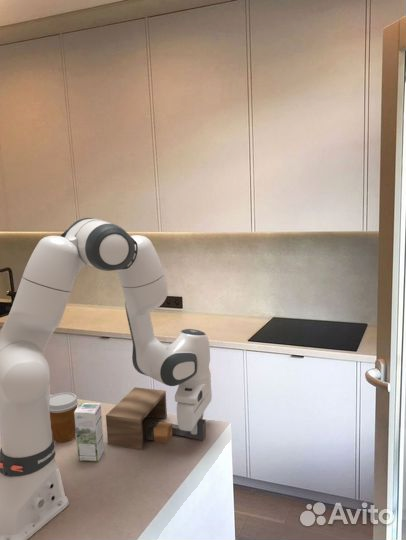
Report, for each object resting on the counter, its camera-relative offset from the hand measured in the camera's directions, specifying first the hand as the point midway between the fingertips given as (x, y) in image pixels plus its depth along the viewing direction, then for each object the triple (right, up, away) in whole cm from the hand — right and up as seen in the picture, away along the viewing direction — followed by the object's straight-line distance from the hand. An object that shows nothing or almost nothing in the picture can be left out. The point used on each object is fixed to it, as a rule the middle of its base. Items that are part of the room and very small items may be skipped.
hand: (196, 429), depth 141 cm
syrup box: (-29, -5, -7) cm, 30 cm away
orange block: (-10, -3, 0) cm, 10 cm away
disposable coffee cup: (-39, -3, +3) cm, 39 cm away
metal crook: (-6, -2, 0) cm, 6 cm away
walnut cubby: (-17, -2, +5) cm, 18 cm away
